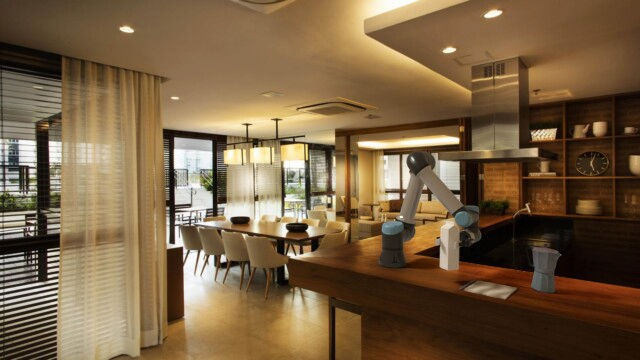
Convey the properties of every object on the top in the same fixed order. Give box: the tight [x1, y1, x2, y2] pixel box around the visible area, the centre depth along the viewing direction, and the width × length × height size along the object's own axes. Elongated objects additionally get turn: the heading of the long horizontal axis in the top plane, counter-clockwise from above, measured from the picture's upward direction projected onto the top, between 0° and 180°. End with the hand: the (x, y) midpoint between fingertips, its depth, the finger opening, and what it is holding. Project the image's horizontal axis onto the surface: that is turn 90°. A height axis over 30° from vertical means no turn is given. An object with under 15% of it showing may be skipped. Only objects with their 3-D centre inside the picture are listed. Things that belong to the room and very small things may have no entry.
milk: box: [439, 220, 461, 271], centre depth 162 cm, size 6×6×22 cm
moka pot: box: [525, 243, 562, 294], centre depth 151 cm, size 10×15×20 cm, turn 28°
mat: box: [457, 279, 518, 300], centre depth 151 cm, size 19×18×1 cm
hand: (445, 244), depth 158 cm, fingers closed on milk, 8 cm apart
